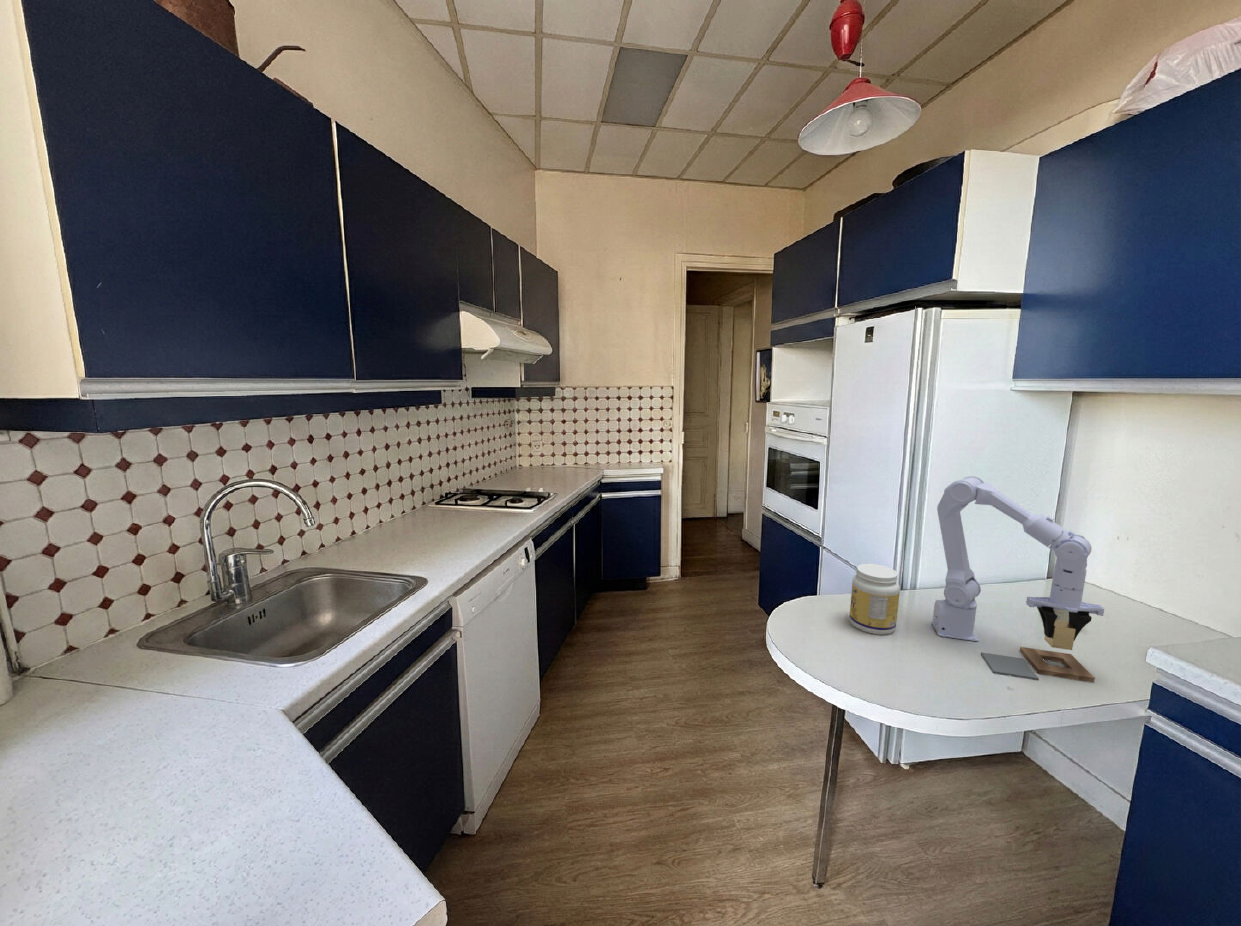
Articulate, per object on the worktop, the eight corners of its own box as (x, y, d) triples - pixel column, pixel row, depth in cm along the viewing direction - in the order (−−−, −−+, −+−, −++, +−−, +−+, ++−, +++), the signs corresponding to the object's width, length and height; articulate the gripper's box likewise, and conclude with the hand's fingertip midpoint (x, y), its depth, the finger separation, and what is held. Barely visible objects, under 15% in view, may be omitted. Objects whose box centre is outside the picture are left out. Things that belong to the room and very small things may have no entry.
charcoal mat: (993, 672, 121) (993, 671, 121) (980, 653, 129) (980, 651, 129) (1038, 680, 118) (1038, 678, 118) (1022, 660, 126) (1022, 658, 126)
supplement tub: (846, 613, 152) (850, 560, 149) (890, 618, 148) (895, 564, 145) (852, 632, 140) (857, 576, 137) (900, 638, 137) (906, 581, 134)
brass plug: (1051, 647, 121) (1055, 626, 121) (1044, 639, 125) (1047, 618, 124) (1072, 650, 120) (1075, 629, 119) (1063, 641, 124) (1067, 621, 123)
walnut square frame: (1038, 673, 120) (1038, 669, 120) (1019, 650, 130) (1020, 646, 130) (1094, 682, 117) (1094, 677, 117) (1070, 658, 127) (1071, 654, 127)
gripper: (1038, 587, 119) (1030, 640, 121) (1115, 596, 114) (1105, 650, 116) (1025, 576, 125) (1018, 626, 128) (1098, 584, 120) (1089, 636, 123)
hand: (1059, 637), depth 122 cm, fingers closed on brass plug, 4 cm apart
